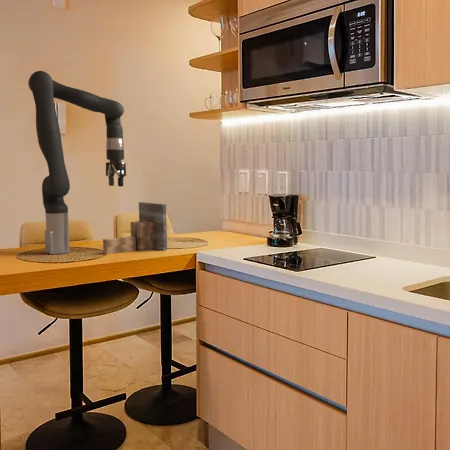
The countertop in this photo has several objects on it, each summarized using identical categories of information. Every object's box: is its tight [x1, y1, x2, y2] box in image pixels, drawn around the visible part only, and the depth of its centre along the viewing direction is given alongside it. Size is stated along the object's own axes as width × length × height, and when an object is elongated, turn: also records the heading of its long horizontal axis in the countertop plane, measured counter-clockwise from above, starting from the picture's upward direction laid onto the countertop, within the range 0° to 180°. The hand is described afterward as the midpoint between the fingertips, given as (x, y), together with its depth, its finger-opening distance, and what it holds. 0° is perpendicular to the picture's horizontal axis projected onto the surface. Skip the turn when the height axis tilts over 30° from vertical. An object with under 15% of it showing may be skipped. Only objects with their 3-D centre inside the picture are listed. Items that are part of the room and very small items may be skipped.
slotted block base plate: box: [130, 201, 168, 252], centre depth 238 cm, size 10×20×20 cm, turn 40°
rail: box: [102, 235, 138, 255], centre depth 232 cm, size 18×3×6 cm, turn 130°
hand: (116, 186), depth 237 cm, fingers open, 8 cm apart
